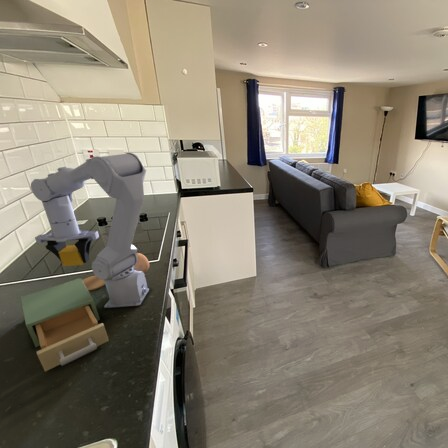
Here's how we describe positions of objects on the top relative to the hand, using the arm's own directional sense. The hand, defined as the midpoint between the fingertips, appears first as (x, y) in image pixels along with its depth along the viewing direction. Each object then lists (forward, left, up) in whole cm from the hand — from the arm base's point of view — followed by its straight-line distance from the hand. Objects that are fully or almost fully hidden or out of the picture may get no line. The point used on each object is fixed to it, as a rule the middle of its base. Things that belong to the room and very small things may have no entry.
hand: (76, 262), depth 79 cm
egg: (-13, -6, -10) cm, 18 cm away
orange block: (0, 0, 0) cm, 0 cm away
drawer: (-11, +24, -9) cm, 28 cm away
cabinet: (-2, +13, -10) cm, 17 cm away
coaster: (-1, -3, -10) cm, 10 cm away
